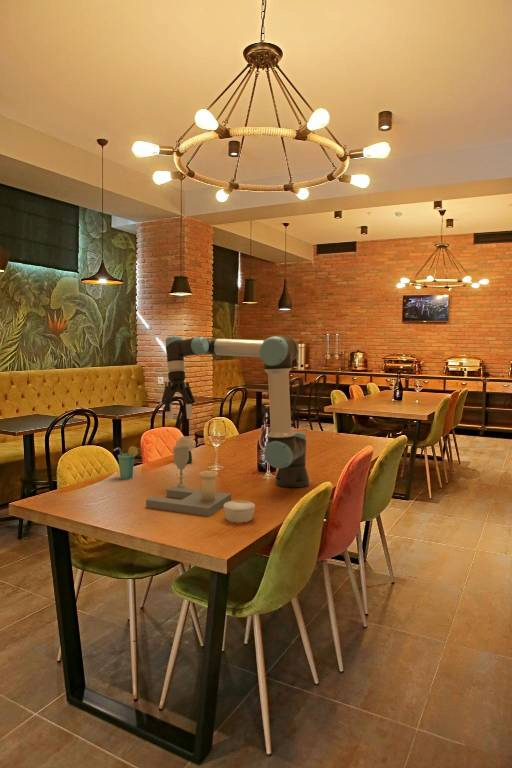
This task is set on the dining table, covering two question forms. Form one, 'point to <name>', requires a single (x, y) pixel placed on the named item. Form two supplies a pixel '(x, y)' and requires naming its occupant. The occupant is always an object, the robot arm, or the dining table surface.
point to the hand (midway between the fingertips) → (180, 419)
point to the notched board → (192, 498)
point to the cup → (127, 462)
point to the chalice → (181, 460)
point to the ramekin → (239, 511)
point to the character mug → (187, 444)
